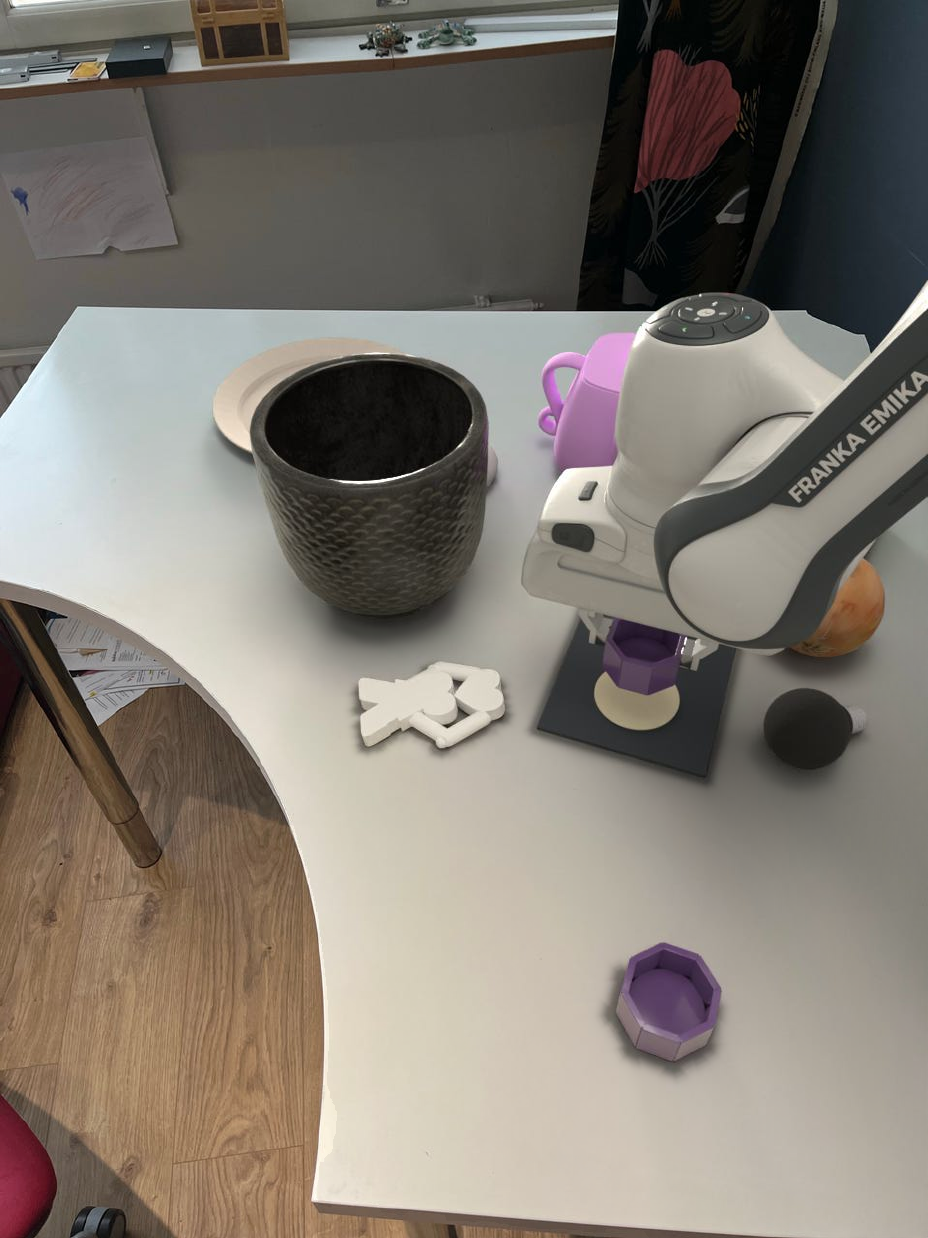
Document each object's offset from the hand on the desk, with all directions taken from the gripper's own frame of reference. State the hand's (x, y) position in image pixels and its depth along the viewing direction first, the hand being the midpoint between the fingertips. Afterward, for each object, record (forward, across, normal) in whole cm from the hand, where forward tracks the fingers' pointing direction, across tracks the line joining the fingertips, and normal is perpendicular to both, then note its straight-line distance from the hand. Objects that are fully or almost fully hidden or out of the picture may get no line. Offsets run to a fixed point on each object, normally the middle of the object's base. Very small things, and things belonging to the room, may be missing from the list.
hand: (643, 651), depth 75 cm
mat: (+6, 0, -6) cm, 9 cm away
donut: (+6, +26, -23) cm, 35 cm away
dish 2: (+6, -8, +25) cm, 27 cm away
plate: (+6, +45, -30) cm, 54 cm away
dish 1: (+2, 0, 0) cm, 2 cm away
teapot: (+6, +8, -34) cm, 35 cm away
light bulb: (+6, -14, 0) cm, 16 cm away
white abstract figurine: (+6, +16, +7) cm, 18 cm away
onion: (+6, -13, -12) cm, 19 cm away
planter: (+6, +26, -6) cm, 27 cm away
